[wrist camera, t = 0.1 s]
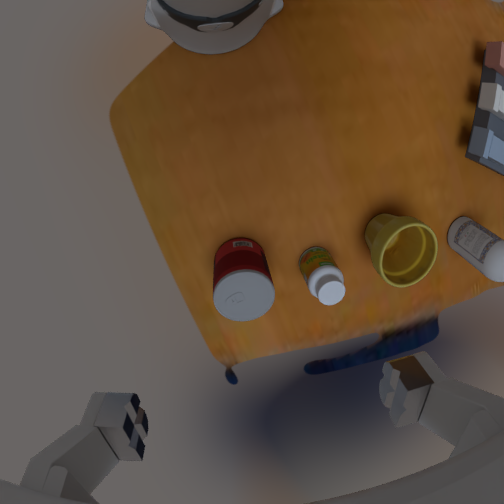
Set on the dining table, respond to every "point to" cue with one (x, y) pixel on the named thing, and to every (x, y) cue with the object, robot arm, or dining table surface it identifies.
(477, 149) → the slate-blue key
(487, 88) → the ivory key
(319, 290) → the supplement bottle
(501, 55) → the terracotta key
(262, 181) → the dining table surface
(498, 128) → the console
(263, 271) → the canned food
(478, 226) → the bath foam
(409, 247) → the plant pot
